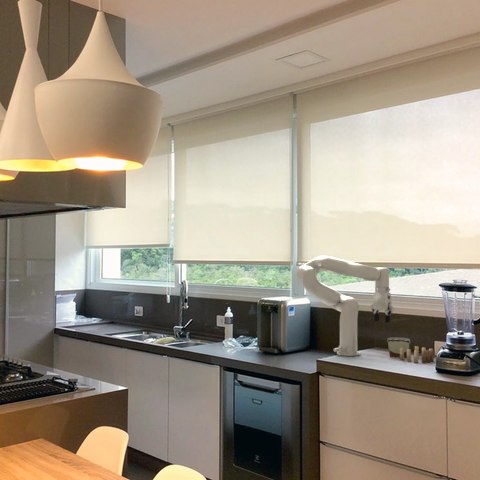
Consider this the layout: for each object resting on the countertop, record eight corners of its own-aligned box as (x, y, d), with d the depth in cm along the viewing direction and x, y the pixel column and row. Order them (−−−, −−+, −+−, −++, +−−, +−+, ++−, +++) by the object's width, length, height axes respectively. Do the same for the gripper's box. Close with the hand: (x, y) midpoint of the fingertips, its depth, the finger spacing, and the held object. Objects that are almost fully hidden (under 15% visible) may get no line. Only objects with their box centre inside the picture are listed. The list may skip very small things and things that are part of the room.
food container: (410, 356, 299) (410, 337, 299) (410, 358, 293) (410, 339, 294) (386, 355, 302) (386, 336, 303) (386, 357, 297) (386, 338, 297)
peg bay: (420, 364, 277) (420, 352, 277) (399, 360, 288) (399, 348, 288) (438, 361, 285) (438, 349, 285) (416, 357, 296) (416, 346, 296)
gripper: (399, 290, 303) (399, 323, 303) (374, 288, 318) (374, 319, 317) (389, 290, 299) (389, 323, 299) (365, 289, 314) (365, 320, 313)
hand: (382, 321), depth 308 cm, fingers open, 7 cm apart
